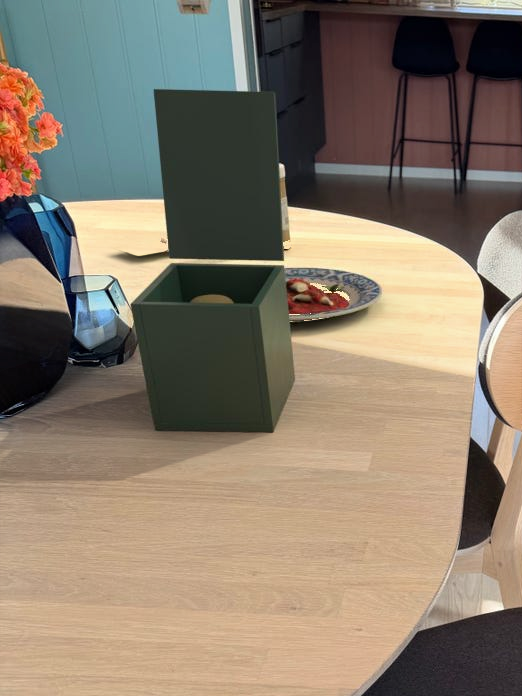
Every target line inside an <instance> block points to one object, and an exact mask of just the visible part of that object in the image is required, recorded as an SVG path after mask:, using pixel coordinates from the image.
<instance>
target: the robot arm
mask: <svg viewBox="0 0 522 696" xmlns="http://www.w3.org/2000/svg"><path fill="white" fill-rule="evenodd" d="M212 1H213V0H176V4H177V8H178V11H179V13H180V15H209V14H210V4H211V2H212Z"/></svg>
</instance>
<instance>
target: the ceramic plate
mask: <svg viewBox="0 0 522 696" xmlns="http://www.w3.org/2000/svg"><path fill="white" fill-rule="evenodd" d="M284 269H285V280H286V290H287V300H288V310H289V314H300V315H289V321H304V320H312V319H319V318H327V317H332V318H334V317H333V316H335V317H338V316H342V315H347V314H352V313H356V312H357V311H358V312H359V311H361V310H363V309H366V308H368V307H370V306H372V305H374V304H376V303H377V302H378V301H379V300H380V299H381V298H382V295H383V288H382V286H381V285H380V284H379V283H378V282H377V281H375V280H374V279H372V278H370V277H368V276H365V275H363V274H359V273H356V272H351V271H346V270H342V269H341V270H340V269H333V268H321V267H284ZM310 283H316V284H317V283H318V284H321V285H326V286H322V287H325V288H327V289H328V290H329V291H331V292H332V293H324V291H327V290H323V291H322V290H321V289H318V288H317V287H315V286H313V285H310ZM337 288H338V289H337ZM336 289H337V290H336ZM336 291H340V292H342V291H343V292H344V293H346V294H347V295H348V296H349V299H350V300H349V301H348V300H346V299H345V298H344V297H342V296H340V294H338V293H334V292H336ZM310 313H311V314H310Z"/></svg>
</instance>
